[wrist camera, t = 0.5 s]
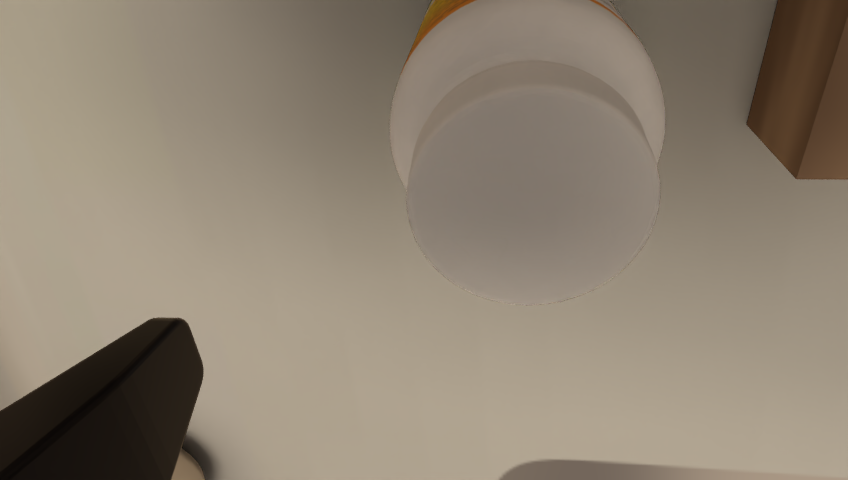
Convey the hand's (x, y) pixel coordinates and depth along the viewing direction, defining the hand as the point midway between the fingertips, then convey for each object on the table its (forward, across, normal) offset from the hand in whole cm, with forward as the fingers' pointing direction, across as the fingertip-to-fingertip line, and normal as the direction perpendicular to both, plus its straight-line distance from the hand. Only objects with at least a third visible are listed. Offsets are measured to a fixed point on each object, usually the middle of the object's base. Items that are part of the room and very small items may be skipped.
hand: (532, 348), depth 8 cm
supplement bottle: (+13, 0, 0) cm, 13 cm away
